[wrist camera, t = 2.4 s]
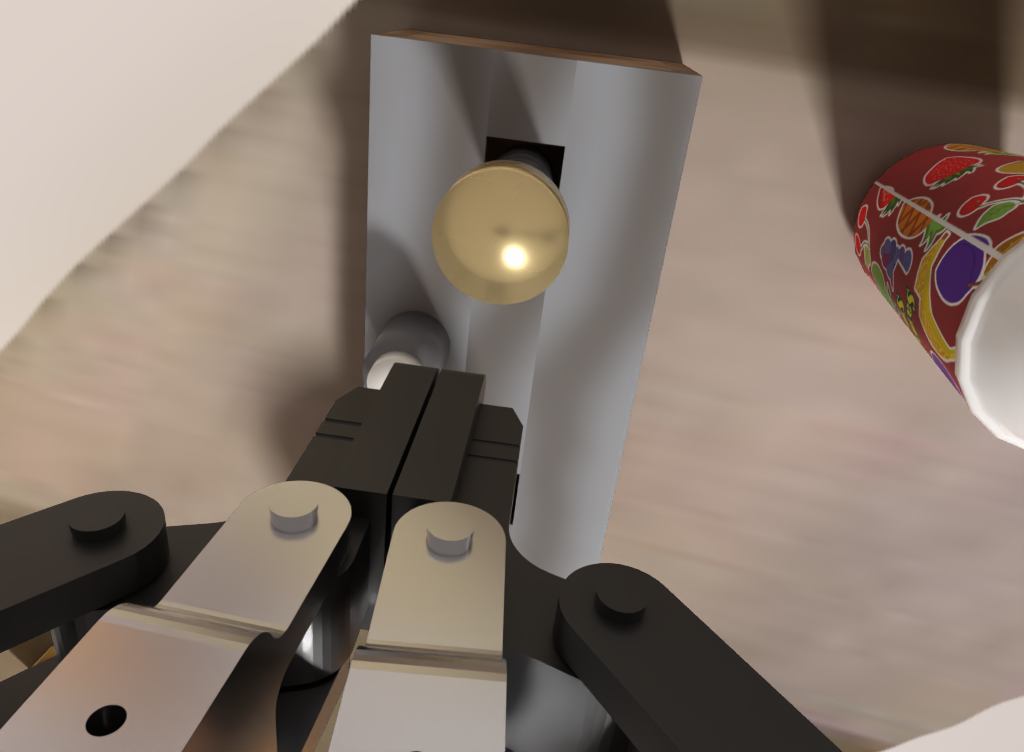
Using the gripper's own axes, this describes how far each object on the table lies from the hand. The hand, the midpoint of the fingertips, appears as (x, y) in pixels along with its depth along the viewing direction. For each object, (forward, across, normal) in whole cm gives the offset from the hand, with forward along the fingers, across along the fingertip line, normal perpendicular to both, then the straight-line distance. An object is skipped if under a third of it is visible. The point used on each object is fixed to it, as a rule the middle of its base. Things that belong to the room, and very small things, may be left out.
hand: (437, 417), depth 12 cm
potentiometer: (+18, +4, +8) cm, 20 cm away
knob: (+19, 0, 0) cm, 19 cm away
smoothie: (+24, -18, 0) cm, 30 cm away
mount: (+24, 0, +8) cm, 25 cm away
